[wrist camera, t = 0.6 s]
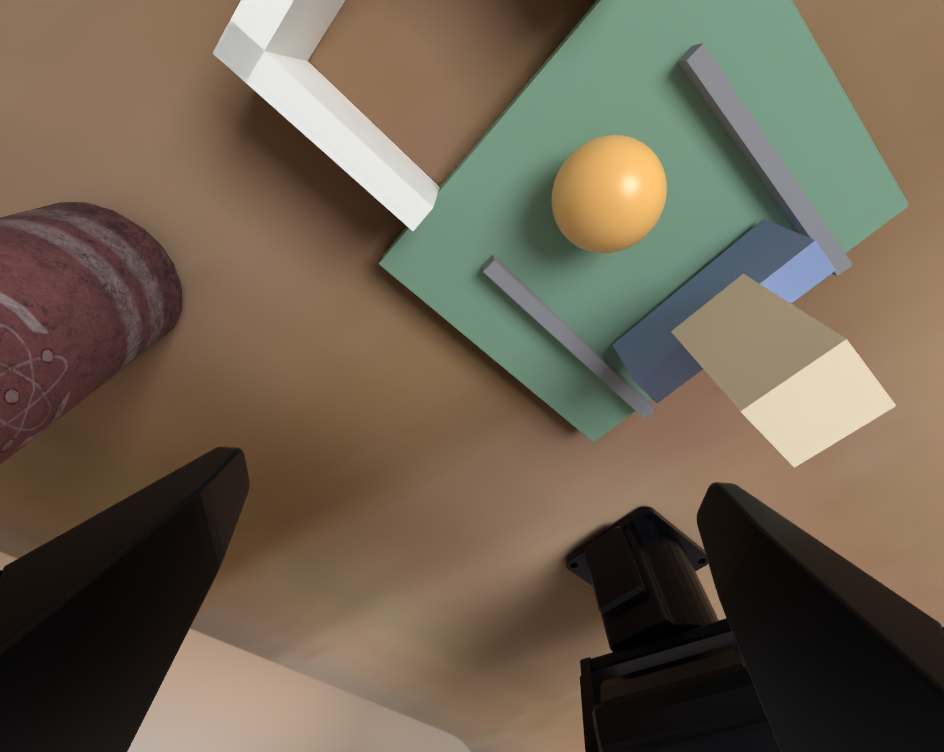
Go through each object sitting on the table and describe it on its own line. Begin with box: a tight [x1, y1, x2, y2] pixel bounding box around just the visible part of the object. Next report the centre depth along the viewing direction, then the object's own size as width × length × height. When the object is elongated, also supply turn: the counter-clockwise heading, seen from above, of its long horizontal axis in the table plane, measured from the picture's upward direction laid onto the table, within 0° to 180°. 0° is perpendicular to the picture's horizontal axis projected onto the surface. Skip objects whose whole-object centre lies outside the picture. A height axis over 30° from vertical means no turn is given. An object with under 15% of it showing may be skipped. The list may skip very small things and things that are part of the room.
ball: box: [552, 135, 667, 253], centre depth 15 cm, size 4×4×4 cm
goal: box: [213, 0, 440, 231], centre depth 14 cm, size 7×10×4 cm
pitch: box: [379, 0, 909, 442], centre depth 18 cm, size 13×15×2 cm
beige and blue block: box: [613, 219, 896, 467], centre depth 15 cm, size 3×7×8 cm, turn 137°
